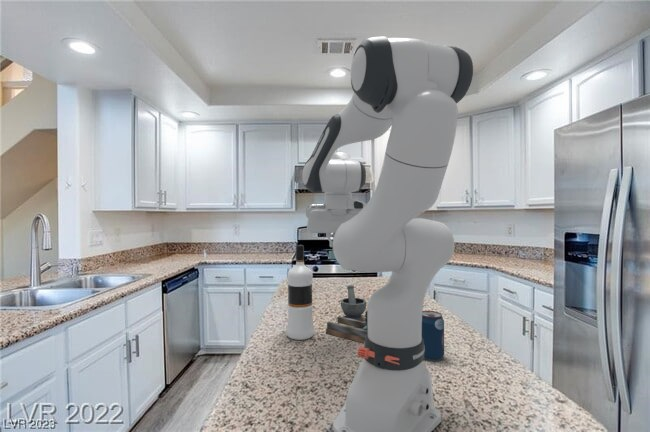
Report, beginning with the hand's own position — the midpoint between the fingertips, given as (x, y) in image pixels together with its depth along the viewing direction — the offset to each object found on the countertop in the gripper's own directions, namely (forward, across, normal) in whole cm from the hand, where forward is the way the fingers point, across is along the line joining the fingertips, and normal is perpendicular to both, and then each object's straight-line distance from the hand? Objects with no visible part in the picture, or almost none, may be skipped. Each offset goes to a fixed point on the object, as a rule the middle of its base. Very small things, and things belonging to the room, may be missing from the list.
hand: (338, 246), depth 100 cm
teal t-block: (+4, 0, 0) cm, 4 cm away
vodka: (+30, -12, +4) cm, 32 cm away
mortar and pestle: (+30, +9, +18) cm, 36 cm away
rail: (+30, +6, +1) cm, 30 cm away
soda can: (+30, +23, -17) cm, 41 cm away
